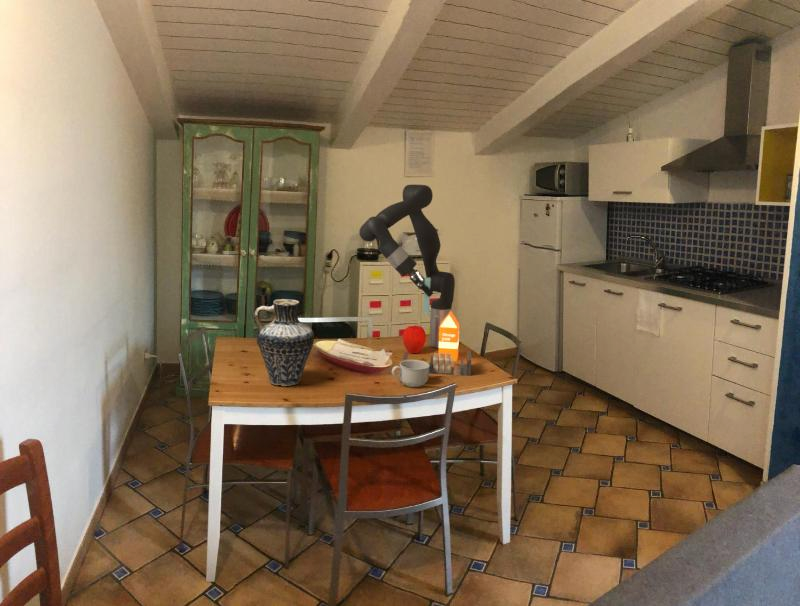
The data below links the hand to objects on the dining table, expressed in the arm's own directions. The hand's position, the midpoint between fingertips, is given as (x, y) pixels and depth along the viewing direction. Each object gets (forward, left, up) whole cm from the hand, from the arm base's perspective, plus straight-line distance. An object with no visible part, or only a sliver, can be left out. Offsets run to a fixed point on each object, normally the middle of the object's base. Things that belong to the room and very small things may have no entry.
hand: (431, 293), depth 253 cm
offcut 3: (-4, +6, -29) cm, 30 cm away
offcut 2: (-3, +4, -29) cm, 30 cm away
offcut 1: (-1, +2, -29) cm, 29 cm away
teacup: (+19, +5, -31) cm, 37 cm away
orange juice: (-19, -4, -31) cm, 36 cm away
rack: (-2, +2, -30) cm, 30 cm away
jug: (+48, -29, -31) cm, 64 cm away
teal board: (+1, -1, -7) cm, 8 cm away
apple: (-18, -21, -31) cm, 41 cm away
